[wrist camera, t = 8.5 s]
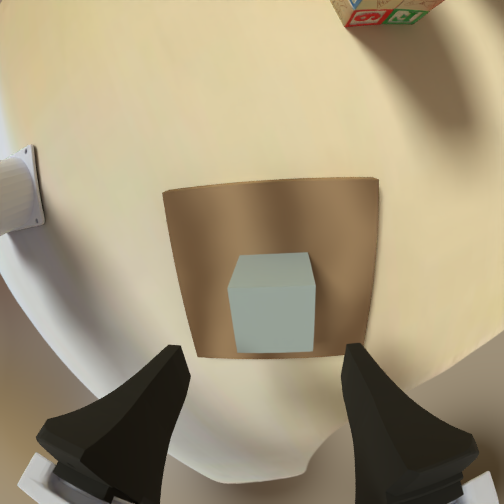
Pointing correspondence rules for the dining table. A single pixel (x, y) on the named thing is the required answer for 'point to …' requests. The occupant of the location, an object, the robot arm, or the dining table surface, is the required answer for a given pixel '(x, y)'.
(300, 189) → the walnut board
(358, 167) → the dining table surface
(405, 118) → the dining table surface
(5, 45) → the dining table surface
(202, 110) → the dining table surface
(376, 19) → the stack of blocks
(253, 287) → the slate cube
